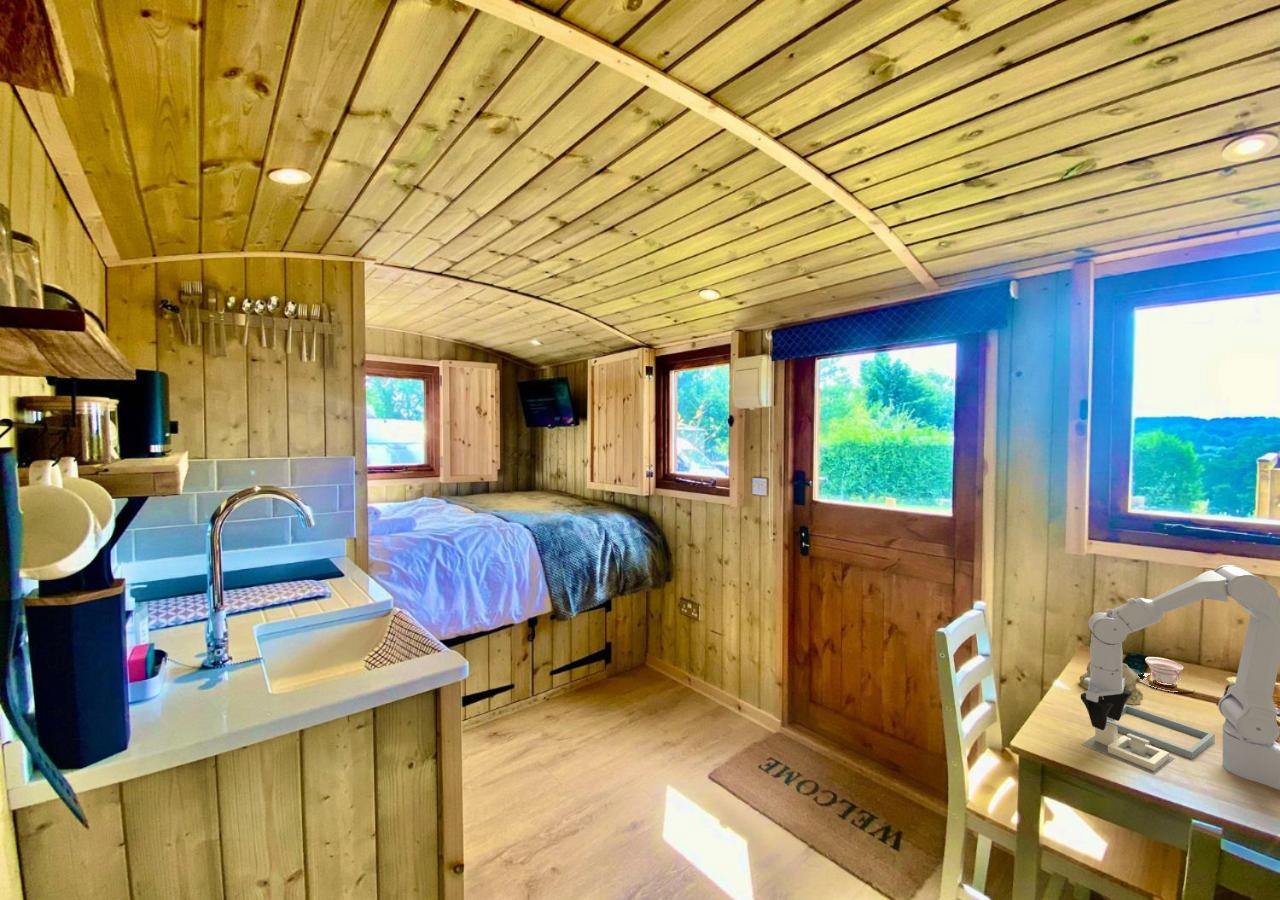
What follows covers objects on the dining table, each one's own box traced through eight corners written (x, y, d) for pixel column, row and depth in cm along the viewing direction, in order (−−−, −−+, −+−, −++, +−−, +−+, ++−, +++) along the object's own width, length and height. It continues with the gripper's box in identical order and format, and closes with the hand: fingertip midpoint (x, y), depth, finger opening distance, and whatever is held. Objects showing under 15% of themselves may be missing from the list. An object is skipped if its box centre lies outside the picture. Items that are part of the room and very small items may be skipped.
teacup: (1126, 674, 162) (1126, 654, 162) (1171, 675, 161) (1171, 655, 160) (1158, 693, 150) (1158, 671, 150) (1207, 695, 149) (1207, 673, 149)
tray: (1214, 744, 126) (1214, 734, 126) (1192, 763, 119) (1192, 752, 119) (1124, 713, 141) (1124, 703, 140) (1100, 728, 134) (1100, 718, 134)
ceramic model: (1152, 697, 148) (1152, 661, 148) (1134, 708, 143) (1134, 671, 143) (1090, 678, 161) (1090, 644, 160) (1071, 687, 155) (1071, 653, 155)
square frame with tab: (1169, 759, 120) (1169, 739, 120) (1154, 770, 116) (1154, 750, 116) (1105, 734, 130) (1104, 716, 130) (1089, 744, 126) (1089, 725, 126)
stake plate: (1174, 762, 120) (1174, 740, 120) (1154, 779, 115) (1154, 755, 115) (1102, 734, 131) (1102, 714, 131) (1080, 748, 126) (1080, 727, 126)
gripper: (1099, 653, 133) (1099, 707, 133) (1070, 666, 126) (1070, 724, 126) (1136, 663, 126) (1136, 720, 127) (1108, 678, 120) (1107, 738, 120)
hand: (1105, 723), depth 126 cm, fingers open, 7 cm apart
